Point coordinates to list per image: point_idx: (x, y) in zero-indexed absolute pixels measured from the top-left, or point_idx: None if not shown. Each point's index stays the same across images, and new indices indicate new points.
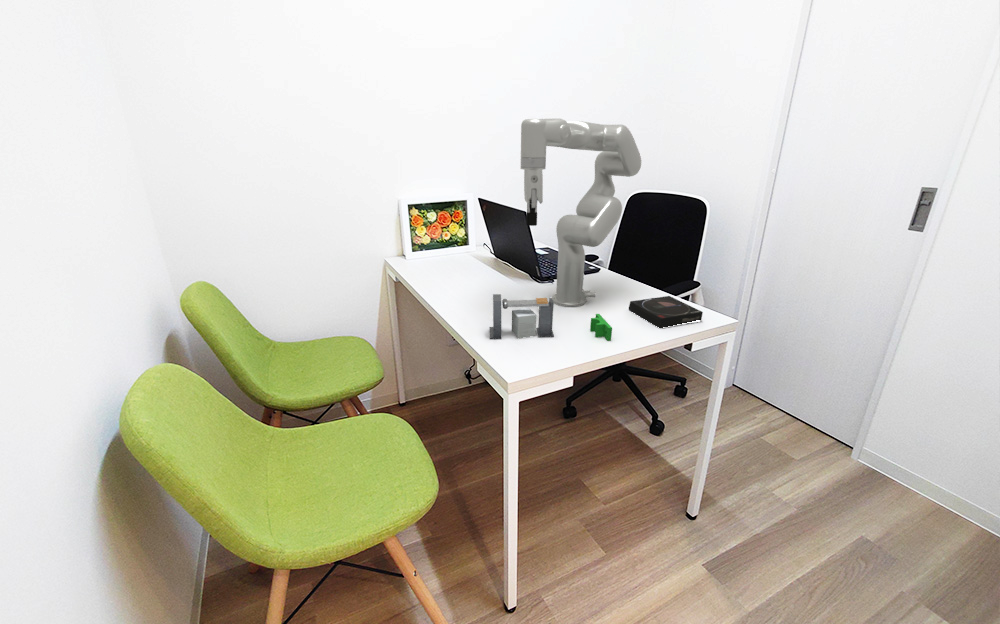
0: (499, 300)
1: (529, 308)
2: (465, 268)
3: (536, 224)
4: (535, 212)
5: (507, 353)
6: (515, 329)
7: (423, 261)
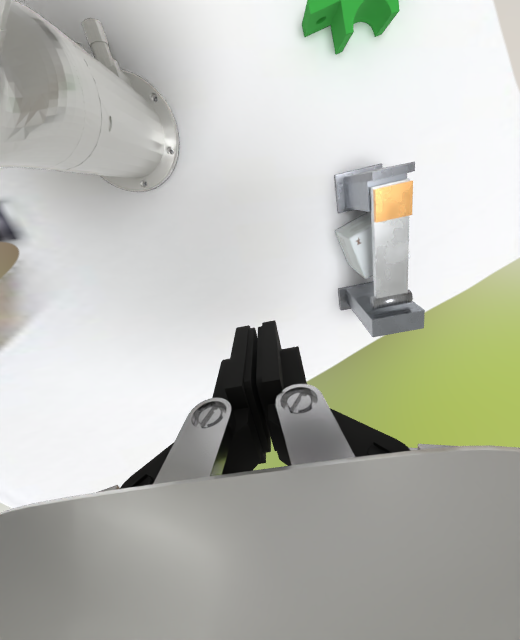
0: (419, 315)
1: (354, 237)
2: (15, 418)
3: (275, 323)
4: (318, 398)
5: (452, 256)
6: None
7: (21, 488)
